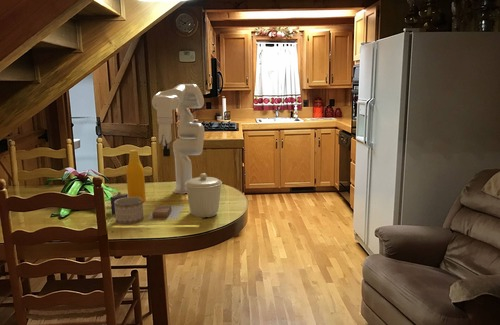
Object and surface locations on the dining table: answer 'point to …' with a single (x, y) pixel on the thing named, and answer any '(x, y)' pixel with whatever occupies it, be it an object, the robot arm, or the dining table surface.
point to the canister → (203, 195)
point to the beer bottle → (135, 176)
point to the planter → (129, 210)
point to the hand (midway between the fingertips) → (166, 156)
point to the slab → (161, 212)
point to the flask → (116, 199)
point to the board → (173, 215)
